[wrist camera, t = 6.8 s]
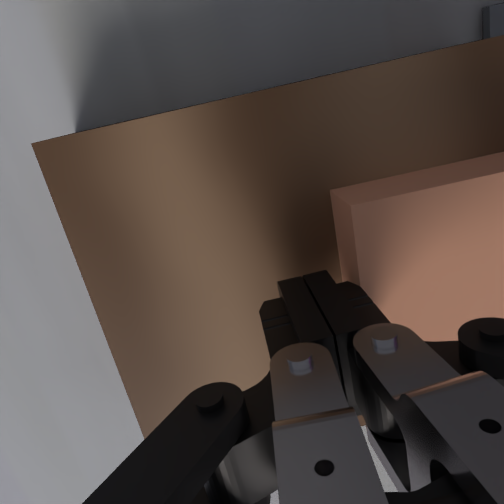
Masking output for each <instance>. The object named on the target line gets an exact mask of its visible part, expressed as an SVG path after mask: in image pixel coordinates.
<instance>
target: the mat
mask: <svg viewBox="0 0 504 504" xmlns="http://www.w3.org/2000/svg"><path fill="white" fill-rule="evenodd" d="M501 35H504V3H500V4H496V5H492V6H488V7H485V8H483V39H487V38H492V37H496V36H501Z"/></svg>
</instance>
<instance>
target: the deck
mask: <svg viewBox="0 0 504 504" xmlns="http://www.w3.org/2000/svg"><path fill="white" fill-rule="evenodd" d="M31 145H32V147H33V150H34V152H35V155H36V158H37V160H38V163H39V165H40V168H41V171H42V173H43V176H44V178H45V181H46V184H47V186H48V189H49V191H50V194H51V197H52V199H53V202H54V204H55V207H56V210H57V212H58V215H59V217H60V220H61V223H62V225H63V228H64V230H65V233H66V236H67V238H68V241H69V243H70V246H71V249H72V251H73V254H74V257H75V259H76V262H77V264H78V267H79V270H80V272H81V275H82V277H83V280H84V283H85V285H86V288H87V290H88V293H89V296H90V298H91V301H92V303H93V306H94V309H95V311H96V314H97V316H98V319H99V322H100V324H101V327H102V329H103V332H104V335H105V337H106V340H107V342H108V345H109V348H110V350H111V353H112V355H113V358H114V361H115V363H116V366H117V368H118V371H119V374H120V376H121V379H122V382H123V384H124V387H125V389H126V392H127V395H128V397H129V400H130V402H131V405H132V408H133V410H134V413H135V415H136V418H137V421H138V423H139V426H140V428H141V431H142V434H143V436H144V439H146V437H147V436H148V435H149V434H150V433H151V432H152V431H153V430H154V429H155V428H156V427H157V426H158V425H159V424H160V423H161V422H162V421H163V420H164V419H165V418H166V417H167V416H168V415H169V414H170V413H171V412H172V411H173V410H174V409H175V408H176V407H177V406H178V405H179V404H180V403H181V401H182V400H183V399H184V398H185V397H186V396H188V395H189V394H190V393H191V392H192V391H194V390H196V389H197V388H199V387H201V386H204V385H206V384H210V383H214V382H228V383H232V384H235V385H237V386H238V387H239V388H240V389H241V390H242V392H243V391H245V390H247V389H249V388H251V387H252V386H254V385H256V384H257V383H259V382H260V381H261V380H262V379H263V378H264V377H265V376H266V375H267V374H268V372H269V370H270V361H271V360H270V356H269V352H268V348H267V343H266V339H265V335H264V331H263V327H262V322H261V318H260V314H259V310H260V308H261V306H262V304H263V302H264V301H267V300H271V299H276V298H280V296H279V291H278V286H277V281H281V280H285V279H289V278H294V277H298V276H301V277H302V275H306V274H310V273H314V272H318V271H322V270H327V271H328V273H329V274H330V275H331V277H332V278H333V280H334V281H335V282H336V284H337V283H341V282H343V281H342V274H341V267H340V260H339V253H338V246H337V239H336V232H335V225H334V217H333V210H332V203H331V196H330V190H332V189H337V188H341V187H346V186H350V185H355V184H360V183H364V182H369V181H373V180H378V179H382V178H387V177H391V176H396V175H400V174H405V173H409V172H414V171H418V170H423V169H427V168H432V167H436V166H441V165H445V164H450V163H455V162H459V161H464V160H468V159H473V158H477V157H482V156H486V155H491V154H495V153H500V152H504V35H501V36H496V37H492V38H487V39H483V40H478V41H474V42H469V43H464V44H460V45H455V46H451V47H447V48H442V49H438V50H434V51H429V52H425V53H421V54H416V55H412V56H408V57H403V58H399V59H394V60H390V61H386V62H381V63H377V64H373V65H368V66H364V67H360V68H355V69H351V70H347V71H342V72H338V73H333V74H329V75H325V76H320V77H316V78H312V79H307V80H303V81H299V82H294V83H290V84H286V85H281V86H277V87H273V88H268V89H264V90H259V91H255V92H251V93H246V94H242V95H238V96H233V97H229V98H225V99H220V100H216V101H212V102H207V103H203V104H198V105H194V106H190V107H185V108H181V109H177V110H172V111H168V112H164V113H159V114H155V115H151V116H146V117H142V118H137V119H133V120H129V121H124V122H120V123H116V124H111V125H107V126H103V127H98V128H94V129H90V130H85V131H81V132H77V133H72V134H68V135H64V136H60V137H56V138H52V139H48V140H44V141H40V142H36V143H32V144H31ZM357 417H358V420H359V423H360V426H364V425H366V423H365V420H364V418H363V416H362V415H359V416H357Z"/></svg>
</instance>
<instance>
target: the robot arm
mask: <svg viewBox="0 0 504 504" xmlns="http://www.w3.org/2000/svg"><path fill="white" fill-rule="evenodd" d="M277 286H278V291H279V296H280V298H276V299H271V300H267V301H264V302H263V304H262V306H261V308H260V310H259V314H260V318H261V322H262V327H263V331H264V335H265V339H266V343H267V348H268V352H269V356H270V360H271V361H270V370H269V372H268V374H267V375H266V376H265V377H264V378H263V379H262V380H261V381H260V382H259V383H257V384H256V385H254V386H252V387H251V388H249V389H247V390H245V391H243V392H242V390H241V389H240V388H239V387H238V386H237V385H235V384H232V383H228V382H214V383H210V384H206V385H204V386H201V387H199V388H197V389H196V390H194V391H192V392H191V393H190V394H189V395H188V396H186V397H185V398H184V399H183V400H182V401H181V403H180V404H179V405H178V406H177V407H176V408H175V409H174V410H173V411H172V412H171V413H170V414H169V415H168V416H167V417H166V418H165V419H164V420H163V421H162V422H161V423H160V424H159V425H158V426H157V427H156V428H155V429H154V430H153V431H152V432H151V433H150V434H149V435H148V436H147V437H146V439H145V440H144V441H143V442H142V443H141V444H140V445H139V446H138V447H137V448H136V449H135V450H134V451H133V452H132V453H131V454H130V455H129V456H128V457H127V458H126V459H125V460H124V461H123V462H122V463H121V464H120V465H119V466H118V467H117V468H116V469H115V470H114V471H113V472H112V473H111V475H110V476H109V477H108V478H107V479H106V480H105V481H104V482H103V483H102V484H101V485H100V486H99V487H98V488H97V489H96V490H95V491H94V492H93V493H92V494H91V495H90V496H89V497H88V498H87V499H86V500H85V501H84V502H83V503H82V504H270V498H271V496H270V494H271V493H273V492H274V491H276V490H278V494H279V504H504V318H496V317H486V318H478V319H474V320H470V321H468V322H466V323H464V324H463V325H462V326H461V327H460V328H459V329H458V341H423V340H422V339H421V338H420V337H419V336H418V335H417V334H416V333H415V332H414V331H412V330H411V329H410V328H408V327H406V326H403V325H399V324H394V323H391V322H390V321H389V320H388V319H387V318H386V316H385V315H384V314H383V313H382V312H381V310H380V309H379V308H378V307H377V306H376V304H375V303H373V301H372V300H371V298H370V297H368V295H367V293H366V292H365V291H364V290H363V289H362V287H361V286H359V285H356V284H354V283H352V282H349V281H345V282H341V283H337V284H336V282H335V281H334V280H333V278H332V277H331V275H330V274H329V273H328V271H327V270H322V271H318V272H314V273H310V274H306V275H302V277H301V276H298V277H294V278H289V279H285V280H281V281H277ZM359 415H362V416H363V418H364V420H365V423H366V429H367V435H368V440H369V442H370V444H371V446H372V448H373V449H374V451H375V453H376V455H377V456H378V458H379V460H380V461H381V463H382V465H383V466H384V468H385V470H386V472H387V473H388V475H389V477H390V478H391V480H392V482H393V483H394V485H395V487H396V489H397V490H398V492H384V490H383V487H382V484H381V481H380V478H379V476H378V473H377V470H376V467H375V465H374V462H373V459H372V456H371V453H370V451H369V448H368V445H367V442H366V440H365V437H364V434H363V431H362V428H361V426H360V423H359V420H358V417H357V416H359Z"/></svg>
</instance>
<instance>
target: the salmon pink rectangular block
mask: <svg viewBox="0 0 504 504" xmlns="http://www.w3.org/2000/svg"><path fill="white" fill-rule="evenodd" d="M330 196H331V203H332V210H333V217H334V225H335V232H336V239H337V246H338V253H339V260H340V267H341V274H342V281H343V282H345V281H349V282H352V283H354V284H356V285H359V286H361V287H362V289H363V290H364V291H365V292H366V293H367V295H368V297H370V298H371V300H372V301H373V303H375V304H376V306H377V307H378V308H379V309H380V310H381V312H382V313H383V314H384V315H385V316H386V318H387V319H388V320H389V321H390V322H391V323H394V324H399V325H403V326H406V327H408V328H410V329H411V330H412V331H414V332H415V333H416V334H417V335H418V336H419V337H420V338H421V339H422V340H423V341H458V329H459V328H460V327H461V326H462V325H463V324H464V323H466V322H468V321H470V320H474V319H478V318H486V317H496V318H504V152H500V153H495V154H491V155H486V156H482V157H477V158H473V159H468V160H464V161H459V162H455V163H450V164H445V165H441V166H436V167H432V168H427V169H423V170H418V171H414V172H409V173H405V174H400V175H396V176H391V177H387V178H382V179H378V180H373V181H369V182H364V183H360V184H355V185H350V186H346V187H341V188H337V189H332V190H330Z"/></svg>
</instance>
